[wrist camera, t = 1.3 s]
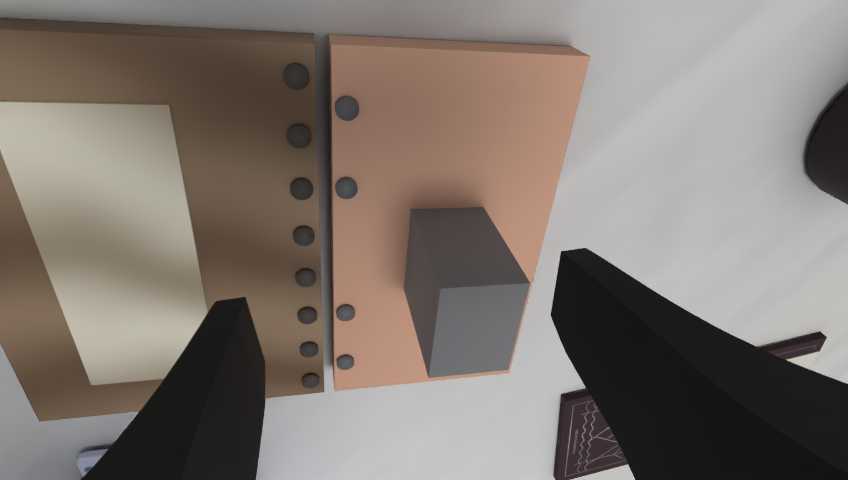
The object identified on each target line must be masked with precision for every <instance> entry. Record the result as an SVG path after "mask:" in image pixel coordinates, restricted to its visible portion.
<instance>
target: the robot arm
mask: <svg viewBox="0 0 848 480" xmlns="http://www.w3.org/2000/svg"><path fill="white" fill-rule="evenodd" d="M551 317H552V320H553V322H554V325H555V327H556V330H557V332H558V335H559V337H560V340H561V342H562V344H563V347H564V349H565V351H566V353H567V355H568V357H569V359H570V360H571V362H572V364H573V366H574V367H575V369H576V371H577V373H578V374H579V376H580V378H581V380H582V381H583V383H584V385H585V387H586V388H587V390H588V392H589V393H590V395H591V397H592V398H593V400H594V402H595V404H596V405H597V407H598V409H599V410H600V412H601V414H602V416H603V417H604V419H605V421H606V422H607V424H608V426H609V428H610V429H611V431H612V433H613V435H614V436H615V438H616V440H617V442H618V444H619V446H620V448H621V450H622V452H623V454H624V456H625V458H626V460H627V462H628V465H629V467H630V469H631V471H632V473H633V476H634V478H635V480H848V384H846V383H843V382H841V381H838V380H835V379H833V378H830V377H827V376H824V375H822V374H819V373H817V372H814V371H812V370H809V369H807V368H804V367H802V366H800V365H797V364H795V363H792V362H790V361H787V360H785V359H782V358H780V357H778V356H776V355H773V354H771V353H769V352H766V351H764V350H762V349H760V348H758V347H756V346H754V345H752V344H749V343H747V342H745V341H743V340H741V339H739V338H737V337H735V336H733V335H731V334H729V333H727V332H725V331H723V330H721V329H719V328H717V327H715V326H713V325H711V324H710V323H708V322H706V321H704V320H702V319H701V318H699V317H697V316H695V315H693V314H692V313H690V312H688V311H686V310H684V309H683V308H681V307H679V306H678V305H676V304H674V303H673V302H671V301H669V300H668V299H666V298H664V297H663V296H661V295H659V294H658V293H656V292H655V291H653V290H651V289H650V288H648V287H647V286H645V285H643V284H642V283H640V282H639V281H637V280H636V279H634V278H632V277H631V276H629V275H628V274H626V273H625V272H623V271H622V270H620V269H619V268H617V267H615V266H614V265H612V264H611V263H609V262H608V261H606V260H605V259H603V258H601V257H600V256H598V255H597V254H595V253H593V252H592V251H590V250H588V249H586V248H582V249H575V250H568V251H561V256H560V262H559V268H558V274H557V280H556V286H555V292H554V299H553V305H552V311H551ZM264 410H265V359H264V356H263V353H262V349H261V346H260V343H259V340H258V336H257V333H256V330H255V326H254V323H253V320H252V317H251V313H250V310H249V307H248V303H247V300H246V297H240V298H233V299H226V300H219V301H216V302H215V303H214V304H213V305H212V307H211V308H210V310H209V311H208V313H207V315H206V316H205V318H204V319H203V321H202V323H201V324H200V326H199V327H198V329H197V331H196V332H195V334H194V335H193V337H192V338H191V340H190V341H189V343H188V344H187V346H186V348H185V349H184V351H183V352H182V354H181V355H180V356H179V358H178V359H177V361H176V362H175V364H174V365H173V367H172V368H171V370H170V371H169V372H168V374H167V375H166V377H165V378H164V380H163V381H162V382H161V384H160V385H159V387H158V388H157V389H156V391H155V392H154V393H153V394H152V396H151V397H150V398H149V400H148V401H147V402H146V404H145V405H144V406H143V408H142V409H141V410H140V411H139V413H138V414H137V415H136V417H135V418H134V419H133V421H132V422H131V423H130V424H129V426H128V427H127V428H126V429H125V430H124V432H123V433H122V434H121V435H120V436H119V438H118V439H117V440H116V441H115V442H114V443H113V445H112V446H111V447H110V448H109V449H102V450H93V451H86V452H83V453H81V454H80V455H79V456H78V459H77V461H76V464H77V466H78V469H79V471H80V473H81V475H82V477H83V478H82V479H81V480H256V473H257V465H258V457H259V450H260V442H261V434H262V426H263V418H264Z"/></svg>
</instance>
